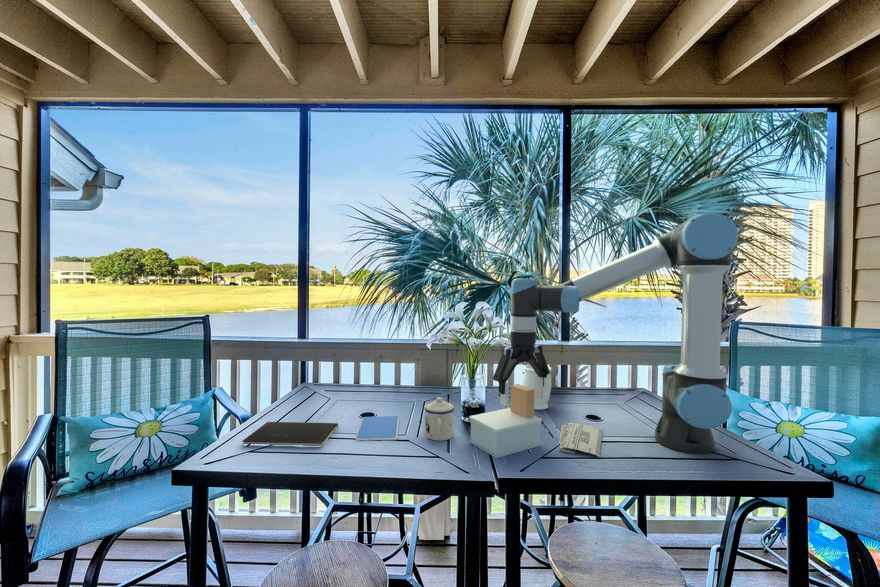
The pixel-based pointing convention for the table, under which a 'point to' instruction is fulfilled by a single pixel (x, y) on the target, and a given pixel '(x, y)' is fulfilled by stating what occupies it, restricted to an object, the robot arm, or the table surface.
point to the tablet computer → (378, 428)
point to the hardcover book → (292, 433)
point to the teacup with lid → (439, 420)
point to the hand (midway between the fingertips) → (521, 401)
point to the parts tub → (505, 439)
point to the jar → (530, 382)
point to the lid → (511, 412)
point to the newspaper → (580, 438)
